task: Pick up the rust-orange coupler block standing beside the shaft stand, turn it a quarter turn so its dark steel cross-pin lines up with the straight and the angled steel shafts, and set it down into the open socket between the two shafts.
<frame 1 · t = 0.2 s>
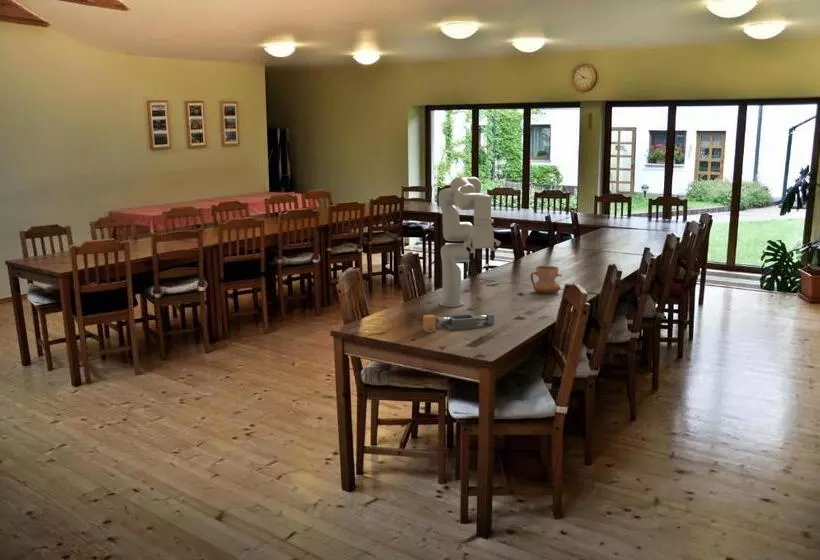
hand: (481, 260, 318), 31 cm above the table, fingers open, 9 cm apart
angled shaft: (441, 326, 327), on the table
coupler: (429, 331, 320), on the table
ceramic jug: (545, 292, 393), on the table
straight shaft: (482, 324, 330), on the table
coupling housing: (462, 325, 328), on the table
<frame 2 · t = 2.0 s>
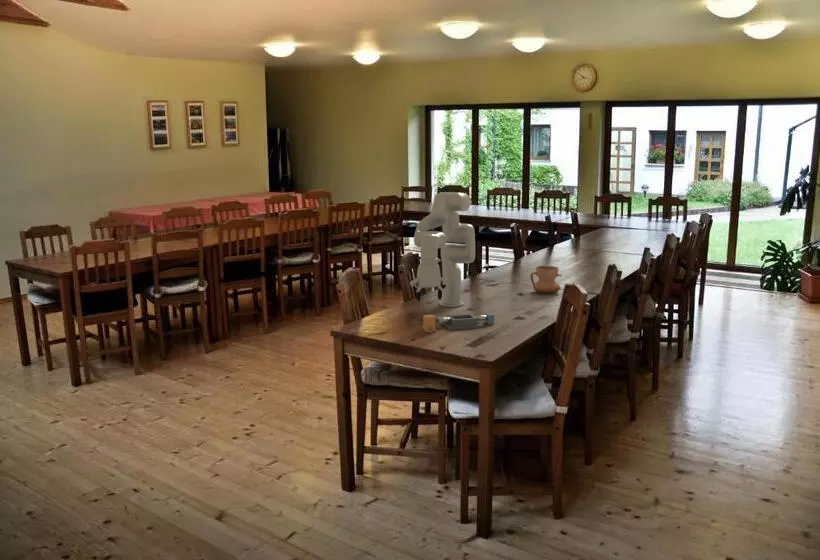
hand: (428, 299, 316), 15 cm above the table, fingers open, 9 cm apart
nothing on the table moved.
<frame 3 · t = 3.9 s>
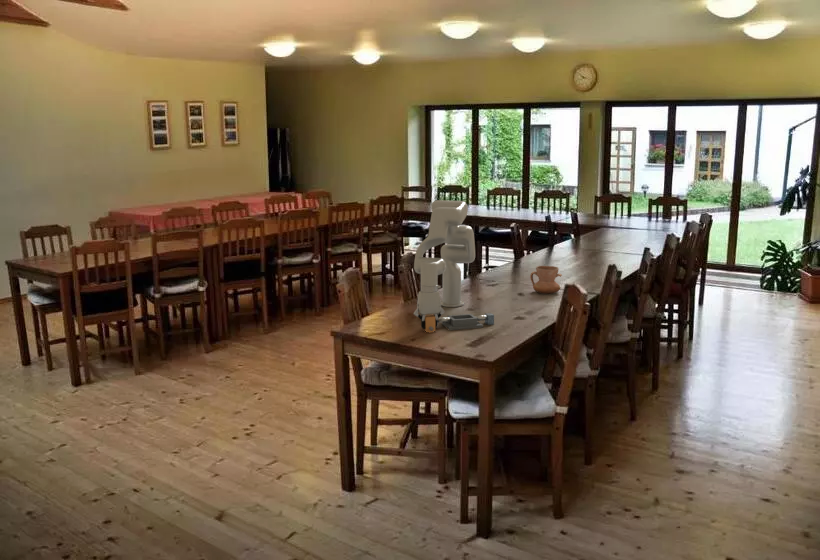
hand: (429, 328, 320), 1 cm above the table, fingers closed on coupler, 4 cm apart
coupler: (429, 331, 320), on the table, touching gripper
everything else where it was.
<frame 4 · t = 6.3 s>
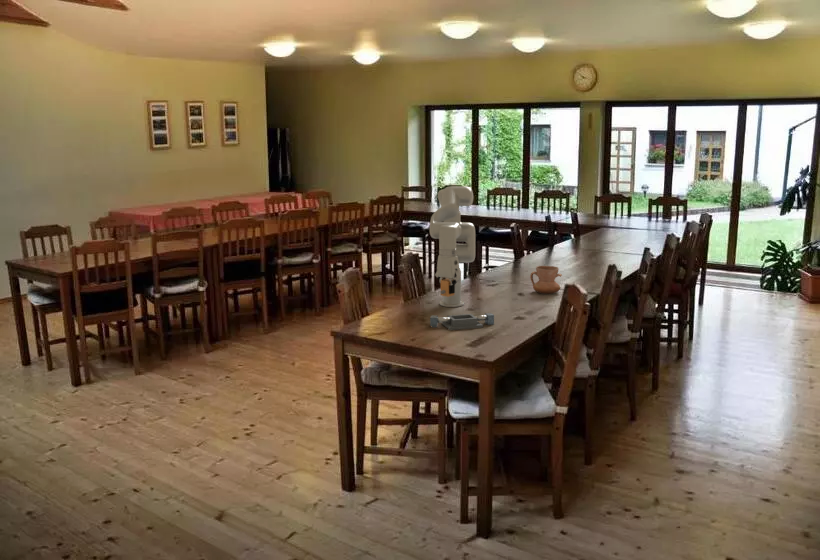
hand: (447, 292, 321), 17 cm above the table, fingers closed on coupler, 4 cm apart
coupler: (447, 295, 321), point 15 cm above the table, touching gripper
everything else where it was.
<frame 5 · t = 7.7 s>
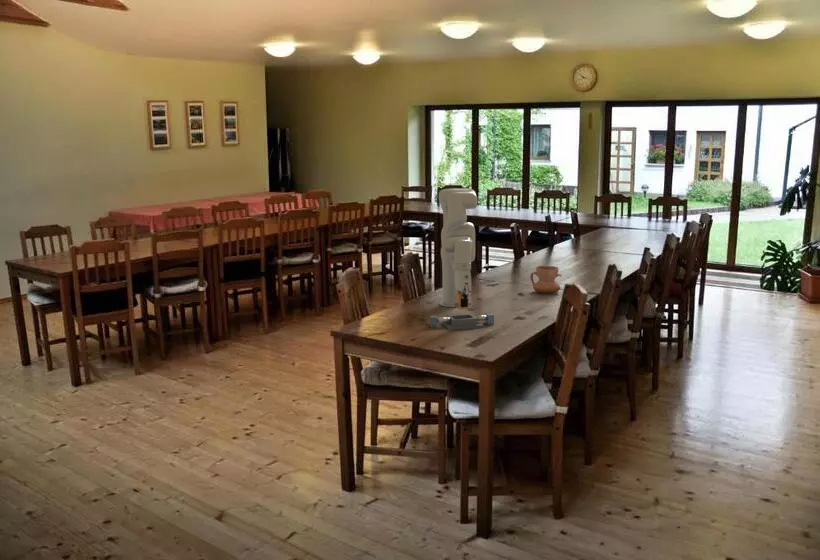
hand: (462, 305, 326), 10 cm above the table, fingers closed on coupler, 4 cm apart
coupler: (462, 308, 326), point 8 cm above the table, touching gripper
everything else where it was.
when the fingers open (5 cm above the table, at t = 9.0 s): coupler drops 2 cm, resting on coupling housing.
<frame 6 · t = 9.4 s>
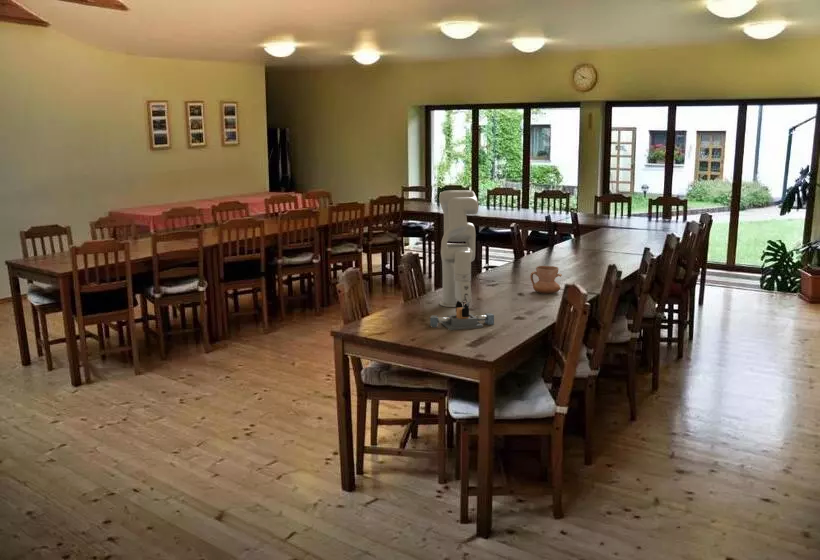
hand: (462, 314, 327), 5 cm above the table, fingers open, 8 cm apart
coupler: (462, 323, 328), point 1 cm above the table, touching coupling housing
everything else where it was.
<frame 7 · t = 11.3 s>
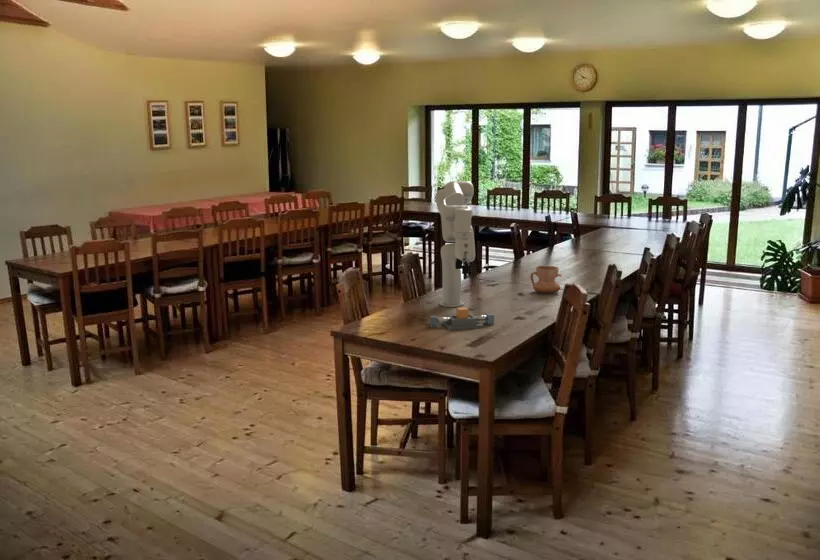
hand: (462, 271, 331), 24 cm above the table, fingers open, 9 cm apart
nothing on the table moved.
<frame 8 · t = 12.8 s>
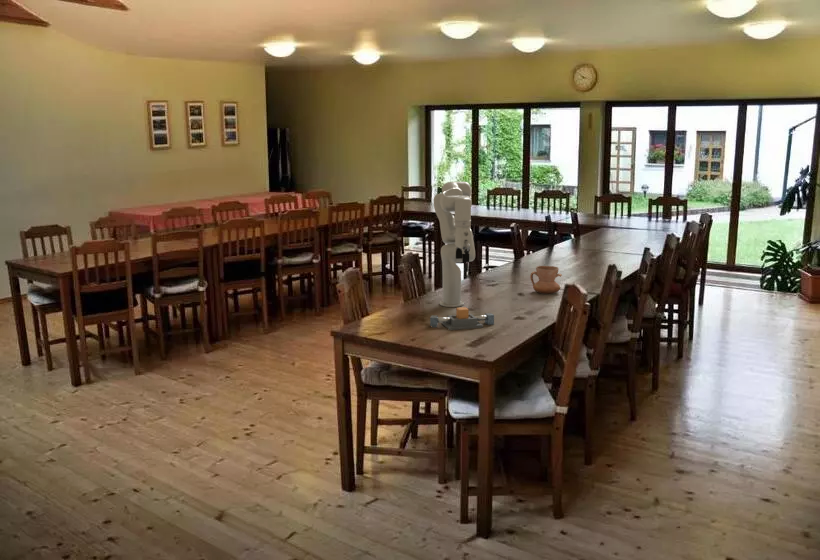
hand: (462, 260, 334), 28 cm above the table, fingers open, 9 cm apart
nothing on the table moved.
at the end: coupler 0.1 cm off-centre on the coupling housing, point 1.2 cm above the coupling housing's base; coupler tilted 0°; the gripper is holding nothing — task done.
